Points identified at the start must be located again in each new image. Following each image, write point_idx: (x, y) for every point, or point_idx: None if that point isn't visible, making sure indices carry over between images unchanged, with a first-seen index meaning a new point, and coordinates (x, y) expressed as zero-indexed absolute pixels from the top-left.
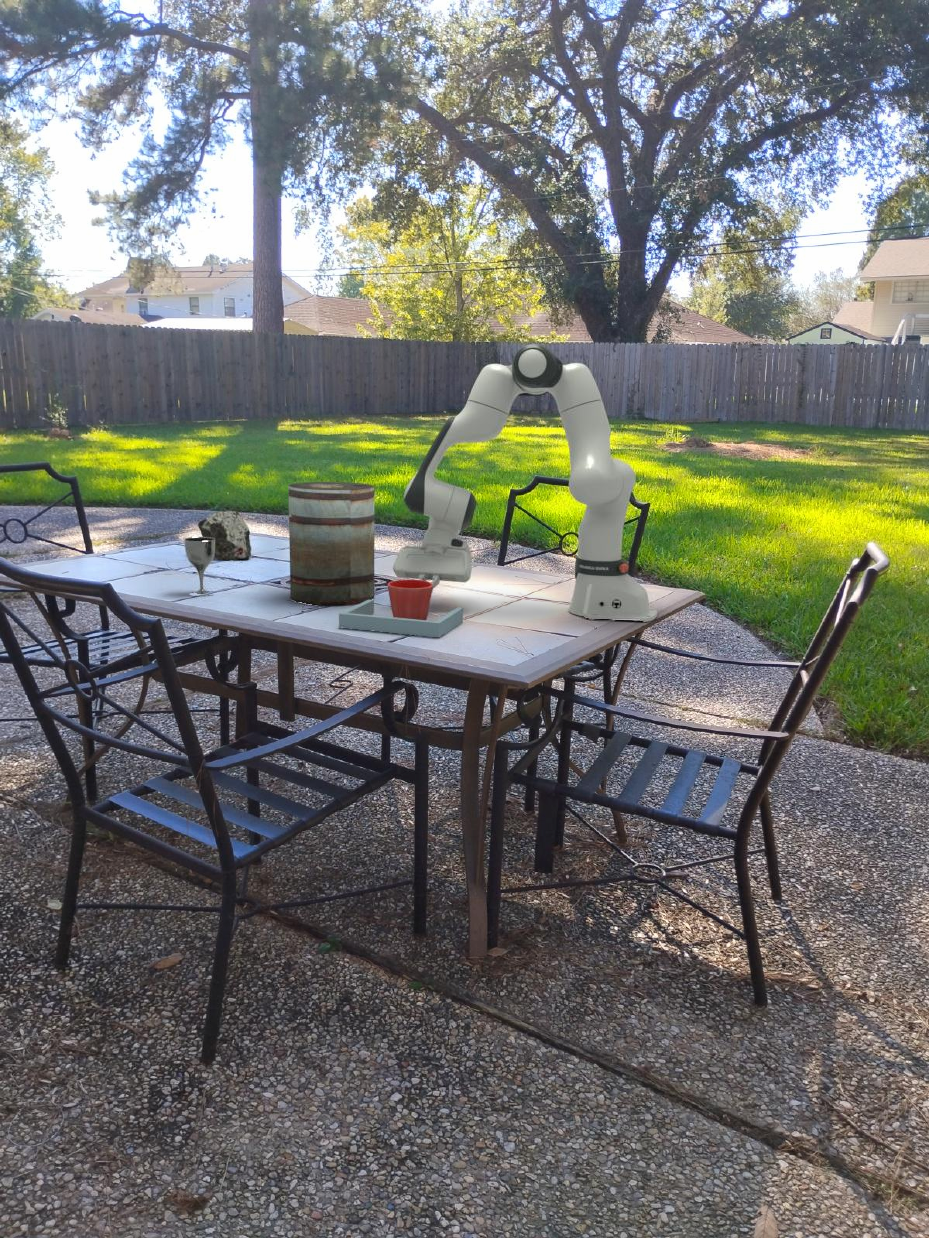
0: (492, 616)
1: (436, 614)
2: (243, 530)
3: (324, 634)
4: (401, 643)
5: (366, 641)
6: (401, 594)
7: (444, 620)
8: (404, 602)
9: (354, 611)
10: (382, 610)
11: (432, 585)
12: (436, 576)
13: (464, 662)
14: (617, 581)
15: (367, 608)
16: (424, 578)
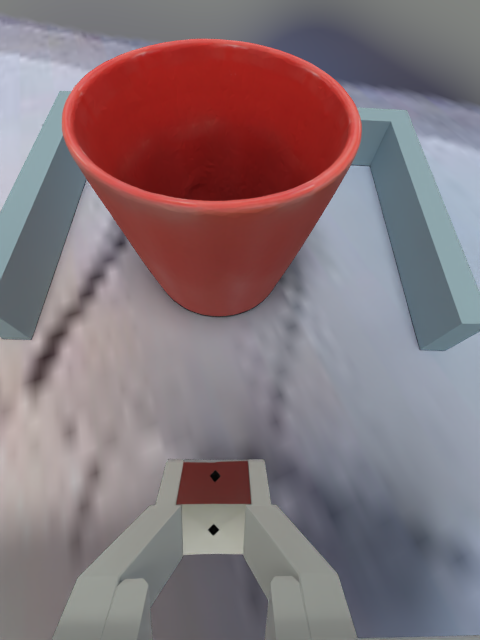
0: None
1: (150, 450)
2: None
3: (375, 108)
4: None
5: None
6: (226, 81)
7: (45, 123)
8: (214, 125)
9: (400, 165)
10: (432, 430)
11: (62, 112)
12: (84, 624)
13: (7, 30)
14: None
15: (423, 270)
16: (269, 610)
